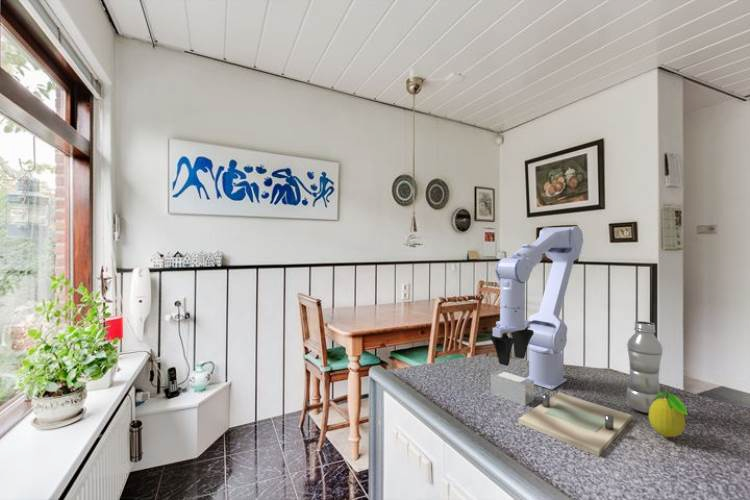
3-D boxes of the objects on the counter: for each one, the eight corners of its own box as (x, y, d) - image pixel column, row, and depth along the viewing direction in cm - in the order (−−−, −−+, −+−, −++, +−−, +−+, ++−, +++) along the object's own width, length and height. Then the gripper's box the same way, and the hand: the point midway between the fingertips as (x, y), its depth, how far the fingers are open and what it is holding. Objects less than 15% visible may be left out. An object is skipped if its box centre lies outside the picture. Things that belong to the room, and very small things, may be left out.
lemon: (687, 451, 64) (688, 397, 63) (646, 439, 68) (647, 388, 67) (687, 436, 68) (688, 386, 68) (649, 425, 72) (650, 378, 72)
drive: (499, 388, 91) (500, 369, 91) (533, 400, 84) (534, 379, 84) (490, 393, 88) (490, 373, 88) (525, 406, 82) (525, 384, 82)
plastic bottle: (656, 406, 81) (657, 321, 80) (666, 420, 75) (667, 327, 74) (622, 401, 83) (624, 318, 83) (629, 414, 77) (631, 324, 77)
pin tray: (558, 396, 86) (559, 382, 86) (631, 419, 75) (631, 403, 75) (518, 423, 74) (518, 406, 74) (598, 456, 62) (598, 437, 62)
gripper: (512, 301, 94) (511, 351, 94) (481, 307, 84) (481, 363, 85) (538, 304, 88) (537, 357, 89) (508, 312, 79) (508, 371, 79)
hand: (512, 361), depth 86 cm, fingers open, 7 cm apart
